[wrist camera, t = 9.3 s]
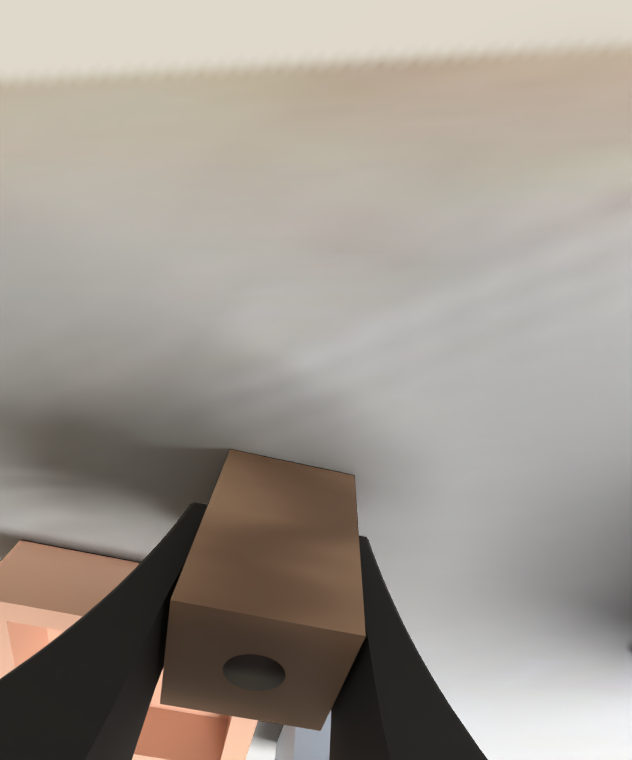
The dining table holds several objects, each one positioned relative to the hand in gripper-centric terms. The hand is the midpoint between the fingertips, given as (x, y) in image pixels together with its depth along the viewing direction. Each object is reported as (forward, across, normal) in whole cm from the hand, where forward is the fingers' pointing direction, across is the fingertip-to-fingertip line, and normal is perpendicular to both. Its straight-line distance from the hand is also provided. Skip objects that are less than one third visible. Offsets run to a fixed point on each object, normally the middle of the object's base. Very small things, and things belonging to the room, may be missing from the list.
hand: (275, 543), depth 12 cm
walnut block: (+1, 0, 0) cm, 1 cm away
